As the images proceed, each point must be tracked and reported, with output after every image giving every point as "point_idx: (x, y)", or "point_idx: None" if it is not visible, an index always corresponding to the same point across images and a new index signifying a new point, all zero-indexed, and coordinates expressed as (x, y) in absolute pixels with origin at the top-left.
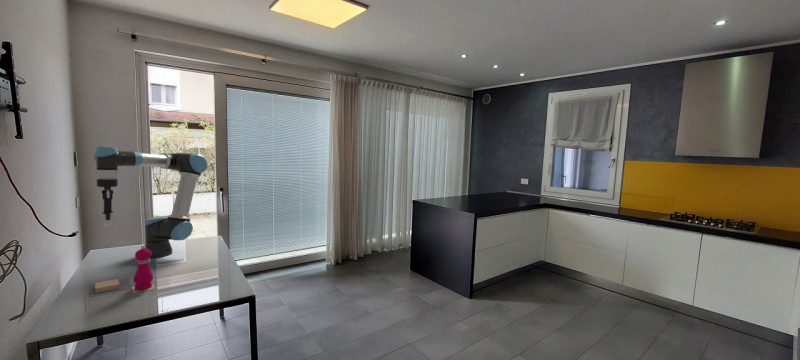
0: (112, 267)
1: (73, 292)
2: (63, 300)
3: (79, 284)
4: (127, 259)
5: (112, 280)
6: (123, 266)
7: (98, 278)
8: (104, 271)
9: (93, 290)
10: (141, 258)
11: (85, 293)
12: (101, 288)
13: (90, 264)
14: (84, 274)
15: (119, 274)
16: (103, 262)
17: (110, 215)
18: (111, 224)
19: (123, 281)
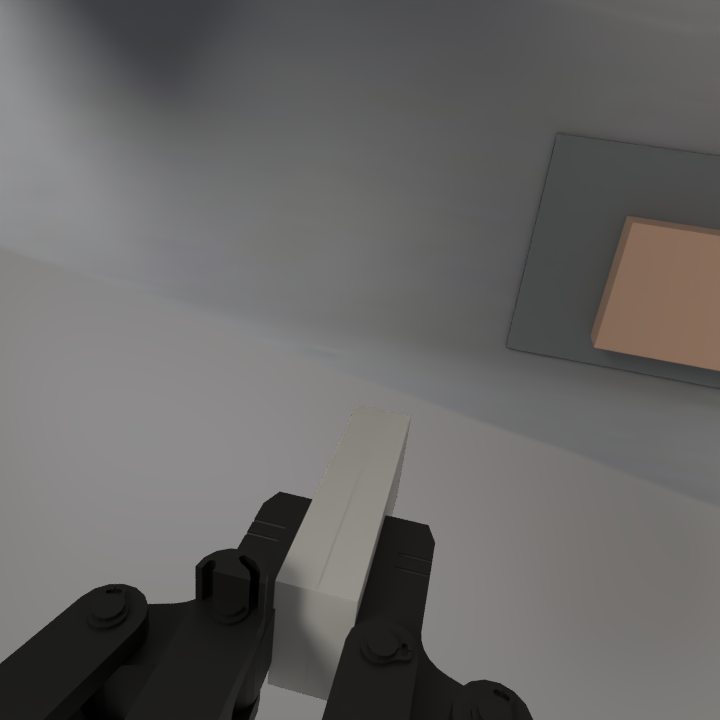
0: (189, 153)
1: (573, 424)
2: (674, 480)
3: (441, 373)
4: (26, 15)
5: (639, 259)
6: (207, 85)
7: (395, 276)
8: (257, 215)
9: None
10: None
11: (652, 390)
12: None
13: (44, 244)
14: (250, 313)
15: (400, 155)
16: (32, 173)
17: (369, 574)
18: (403, 434)
19: (618, 177)
